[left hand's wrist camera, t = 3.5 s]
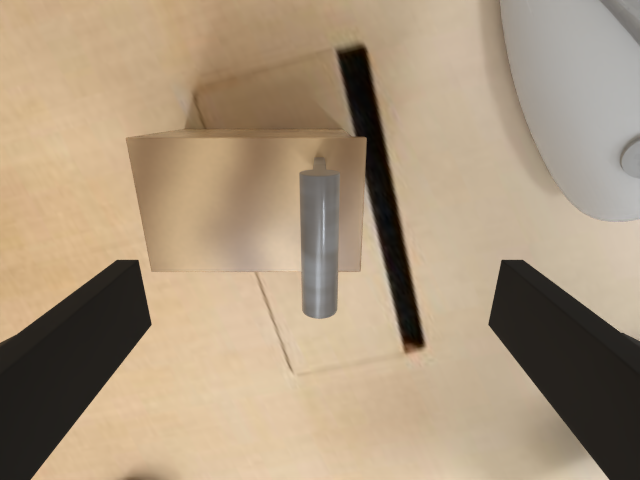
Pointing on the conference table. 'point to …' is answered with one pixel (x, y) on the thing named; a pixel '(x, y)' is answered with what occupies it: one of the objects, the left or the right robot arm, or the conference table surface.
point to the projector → (581, 96)
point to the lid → (254, 207)
